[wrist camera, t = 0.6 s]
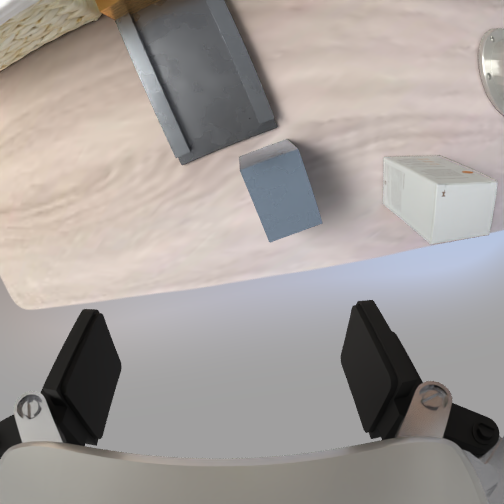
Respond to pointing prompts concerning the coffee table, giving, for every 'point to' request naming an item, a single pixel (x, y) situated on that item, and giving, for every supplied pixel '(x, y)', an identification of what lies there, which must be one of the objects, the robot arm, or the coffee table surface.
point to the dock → (193, 72)
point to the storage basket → (39, 24)
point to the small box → (439, 197)
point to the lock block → (280, 189)
